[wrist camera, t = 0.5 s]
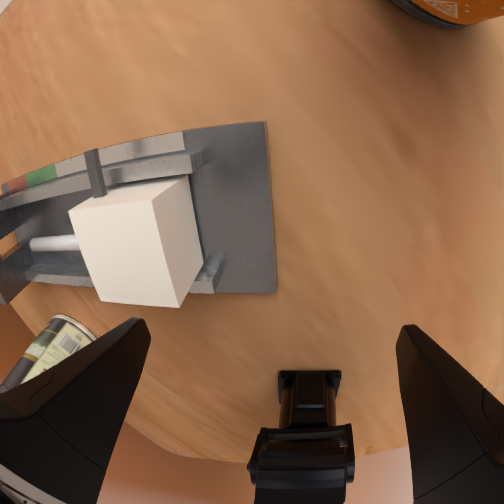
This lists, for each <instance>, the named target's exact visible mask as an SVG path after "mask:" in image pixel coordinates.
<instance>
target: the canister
mask: <svg viewBox="0 0 504 504" xmlns="http://www.w3.org/2000/svg"><path fill="white" fill-rule="evenodd" d="M392 1H393V2H394V3H396V4H397V5H398V6H400V7H401V8H402V9H403V10H405V11H407V12H408V13H410V14H411V15H413V16H415V17H416V18H418V19H420V20H422V21H424V22H427V23H429V24H431V25H434V26H437V27H441V28H446V29H459V28H463V27H466V26H469V25H471V24H475V23H478V22H481V21H485V20H488V19H492V18H495V17H499V16H503V15H504V0H392Z"/></svg>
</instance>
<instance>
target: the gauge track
mask: <svg viewBox="0 0 504 504" xmlns="http://www.w3.org/2000/svg"><path fill="white" fill-rule="evenodd" d="M98 152H99V158H100V163H101V168H102V172H103V177H104V182H105V186H106V189H107V188H109V187H111V186H112V185H117V184H123V183H130V182H136V181H143V180H150V179H157V178H164V177H172V176H181V175H188V179H189V185H190V192H191V197H192V203H193V209H194V215H195V220H196V226H197V231H198V237H199V242H200V247H201V252H202V257H203V262H204V263H203V265H202V267H201V269H200V271H199V273H198V274H197V276H196V278H195V280H194V282H193V284H192V285H191V287H190V289H189V291H188V293H207V294H214V293H215V292H217V293H277V284H278V283H277V264H276V247H275V230H274V215H273V200H272V186H271V173H270V160H269V147H268V135H267V124H266V121H259V122H246V123H236V124H227V125H218V126H210V127H203V128H196V129H190V130H184V131H178V132H172V133H167V134H161V135H156V136H151V137H147V138H142V139H138V140H133V141H129V142H125V143H121V144H117V145H113V146H109V147H105V148H102V149H98ZM1 187H2V191H3V194H2V195H0V240H1V239H2V238H4V237H5V236H6V235H8V234H9V233H11V232H12V231H14V232H15V234H16V237H17V240H18V244H17V245H15V246H14V247H13V248H11V249H10V250H9V251H7V252H6V253H5V254H3V255H2V256H1V255H0V303H2V304H5V305H7V304H8V303H9V302H10V301H11V300H12V299H13V298H14V297H15V296H16V295H17V294H19V293H20V292H21V291H22V290H23V289H24V288H25V287H26V286H27V285H28V284H29V283H30V282H31V281H35V282H44V283H54V284H64V285H74V286H86V287H95V286H94V284H93V281H92V279H91V276H90V274H89V271H88V269H87V266H86V264H85V261H84V258H83V256H82V253H81V250H76V251H37V252H34V251H32V250H31V248H30V241H31V239H32V238H37V237H48V236H60V235H72V234H75V232H74V229H73V226H72V223H71V220H70V216H69V213H68V211H69V210H71V209H72V208H74V207H76V206H77V205H79V204H81V203H82V202H84V201H86V200H87V199H89V198H91V197H93V194H92V189H91V185H90V181H89V176H88V172H87V167H86V162H85V157H84V154H81V155H78V156H75V157H72V158H69V159H66V160H63V161H60V162H57V163H54V164H51V165H48V166H46V167H43V168H40V169H38V170H35V171H33V172H30V173H28V174H25V175H23V176H20V177H18V178H16V179H13V180H11V181H9V182H7V183H5V184H3V185H1Z"/></svg>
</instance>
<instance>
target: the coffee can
mask: <svg viewBox="0 0 504 504" xmlns="http://www.w3.org/2000/svg"><path fill="white" fill-rule="evenodd" d="M96 339H97V338H96V337H95V336H94V335H93V334H92V333H91V332H90V331H89V330H88V329H87V328H86V327H85V326H83V325H82V324H80V323H79V322H78V321H76V320H74V319H73V318H71V317H68V316H66V315H62V314H57V315H54V316H53V317H52V319H51V321H50V322H49V323H48V324H47V325H46V327H45V328H44V329H43V330H42V331H41V333H40V334H39V335H38V336H37V338H36V339H35V340H34V341H33V343H32V344H31V345H30V347H29V348H28V349H27V351H26V352H25V353H24V355H23V356H22V357H21V358H20V359H19V361H18V362H17V364H16V365H15V366H14V367H13V369H12V370H11V372H10V373H9V375H8V376H7V377H6V379H5V380H4V381H3V383H2V384H1V385H0V393H4V392H6V391H8V390H10V389H12V388H14V387H16V386H18V385H20V384H22V383H24V382H26V381H28V380H30V379H32V378H33V377H35V376H37V375H39V374H41V373H42V372H44V371H46V370H47V369H49V368H51V367H52V366H54V365H57V363H59V362H60V361H62V360H64V359H65V358H67V357H68V356H70V355H72V354H73V353H75V352H77V351H78V350H80V349H81V348H83V347H85V346H86V345H88V344H90V343H91V342H93V341H94V340H96Z"/></svg>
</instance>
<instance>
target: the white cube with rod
mask: <svg viewBox="0 0 504 504" xmlns="http://www.w3.org/2000/svg"><path fill="white" fill-rule="evenodd" d="M84 157H85V162H86V167H87V172H88V176H89V181H90V185H91V189H92V194H93V197H91V198H89V199H87V200H86V201H84V202H82V203H81V204H79V205H77V206H76V207H74V208H72V209H71V210H69V211H68V213H69V216H70V220H71V223H72V226H73V229H74V232H75V234H72V235H60V236H48V237H37V238H32V239H31V241H30V248H31V250H32V251H34V252H37V251H76V250H81V253H82V256H83V258H84V261H85V264H86V266H87V269H88V271H89V274H90V276H91V279H92V281H93V284H94V286H95V289H96V291H97V293H98V296H99V298H100V300H101V301H105V302H115V303H125V304H135V305H147V306H160V307H173V308H180V306H181V304H182V302H183V300H184V298H185V297H186V295H187V293H188V291H189V289H190V287H191V285H192V284H193V282H194V280H195V278H196V276H197V274H198V273H199V271H200V269H201V267H202V265H203V263H204V262H203V257H202V252H201V247H200V242H199V237H198V231H197V226H196V220H195V215H194V209H193V203H192V197H191V192H190V185H189V179H188V175H181V176H172V177H164V178H157V179H150V180H143V181H136V182H130V183H123V184H117V185H112V186H111V187H109V188H107V189H106V186H105V182H104V177H103V172H102V168H101V163H100V158H99V152H98V148H96V149H93V150H90V151H86V152H84Z"/></svg>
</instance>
